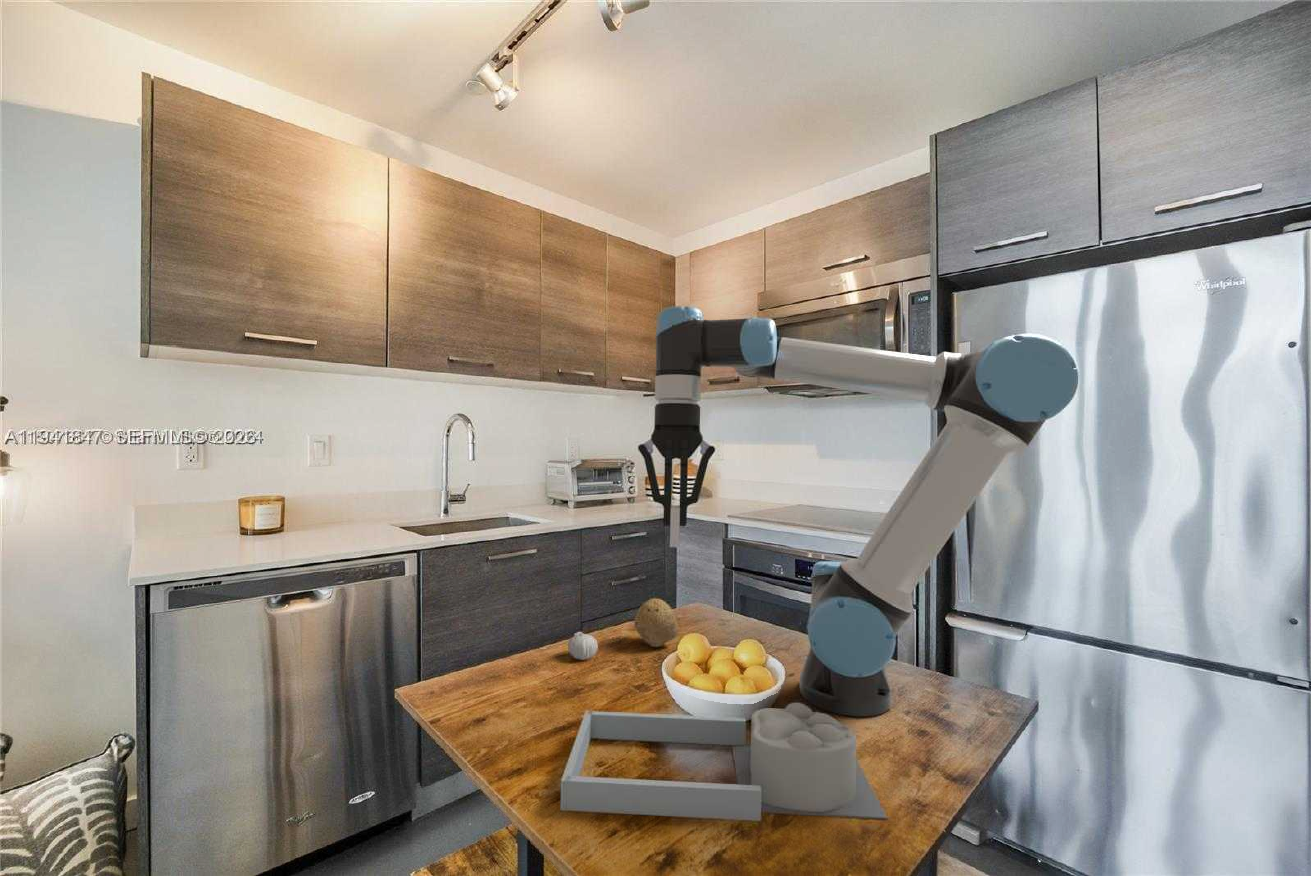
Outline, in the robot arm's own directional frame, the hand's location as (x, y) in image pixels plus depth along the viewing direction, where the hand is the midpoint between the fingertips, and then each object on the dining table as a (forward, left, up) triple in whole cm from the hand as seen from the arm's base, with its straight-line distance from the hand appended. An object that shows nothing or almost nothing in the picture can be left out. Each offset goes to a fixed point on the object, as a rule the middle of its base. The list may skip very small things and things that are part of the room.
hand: (674, 545), depth 94 cm
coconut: (+4, -26, -27) cm, 37 cm away
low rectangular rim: (+1, +19, -26) cm, 33 cm away
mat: (-17, +19, -26) cm, 37 cm away
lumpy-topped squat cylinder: (-17, +20, -26) cm, 38 cm away
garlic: (+18, -18, -27) cm, 37 cm away
